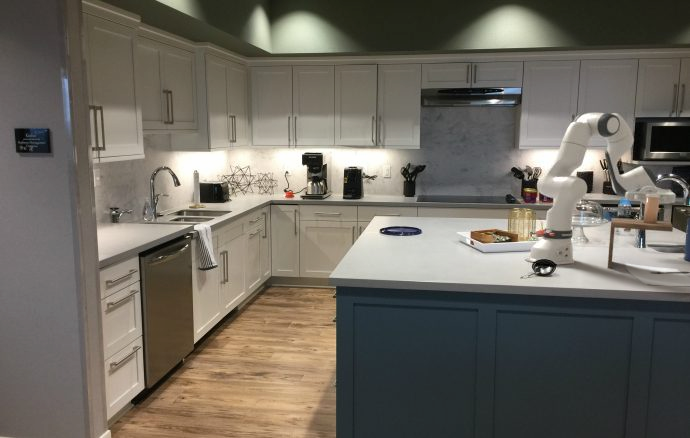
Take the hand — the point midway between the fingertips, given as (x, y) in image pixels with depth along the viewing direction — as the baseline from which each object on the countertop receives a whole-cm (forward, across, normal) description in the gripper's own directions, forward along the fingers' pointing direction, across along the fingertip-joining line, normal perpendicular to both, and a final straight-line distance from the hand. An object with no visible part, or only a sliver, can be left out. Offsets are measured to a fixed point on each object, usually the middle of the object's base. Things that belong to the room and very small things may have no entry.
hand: (650, 198), depth 254 cm
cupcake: (-24, -47, +29) cm, 60 cm away
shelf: (+14, -3, +29) cm, 32 cm away
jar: (+13, 0, +9) cm, 16 cm away
